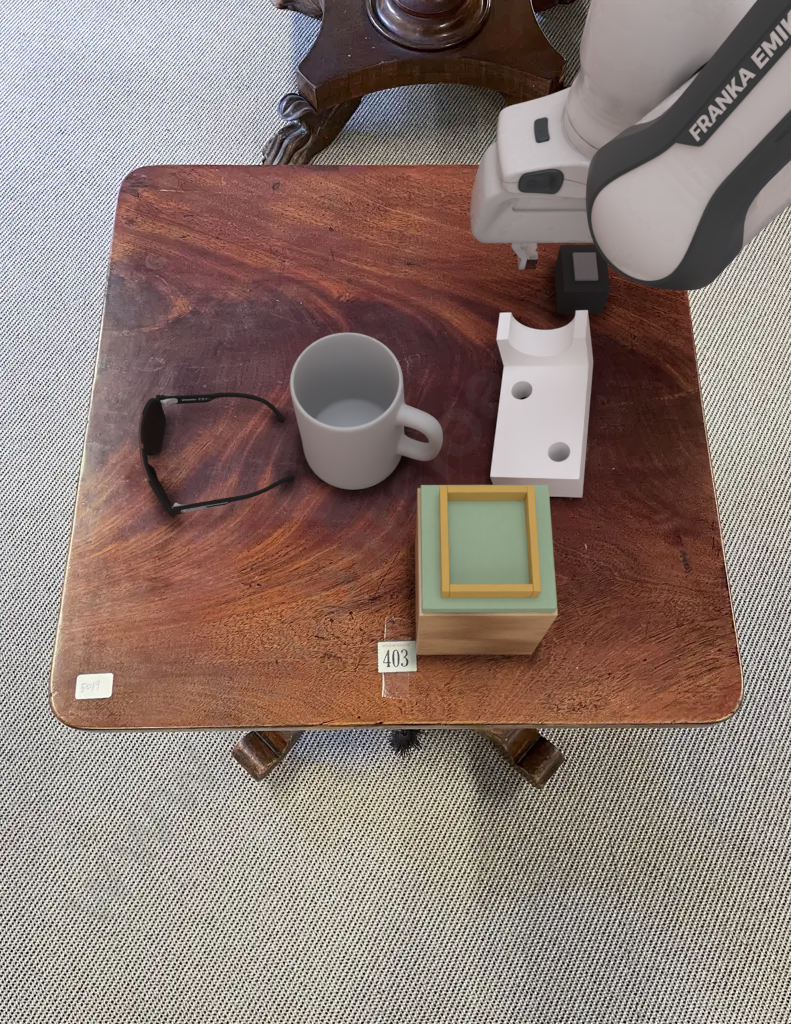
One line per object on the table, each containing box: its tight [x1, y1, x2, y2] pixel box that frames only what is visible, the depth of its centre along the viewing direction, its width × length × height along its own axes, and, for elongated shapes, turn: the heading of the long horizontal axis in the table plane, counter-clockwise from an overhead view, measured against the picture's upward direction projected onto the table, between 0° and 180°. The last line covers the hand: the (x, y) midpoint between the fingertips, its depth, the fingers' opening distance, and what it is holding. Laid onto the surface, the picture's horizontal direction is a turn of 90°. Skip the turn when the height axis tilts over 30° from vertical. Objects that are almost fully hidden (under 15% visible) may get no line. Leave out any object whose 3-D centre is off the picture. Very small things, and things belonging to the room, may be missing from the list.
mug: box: [289, 332, 444, 491], centre depth 68 cm, size 12×8×11 cm
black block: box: [553, 244, 611, 315], centre depth 77 cm, size 4×5×4 cm
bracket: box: [489, 310, 594, 498], centre depth 71 cm, size 13×7×8 cm, turn 171°
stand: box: [414, 487, 559, 656], centre depth 63 cm, size 9×9×12 cm
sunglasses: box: [137, 391, 295, 519], centre depth 71 cm, size 11×12×5 cm
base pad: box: [420, 484, 558, 612], centre depth 56 cm, size 9×9×2 cm
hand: (579, 263), depth 75 cm, fingers open, 8 cm apart
